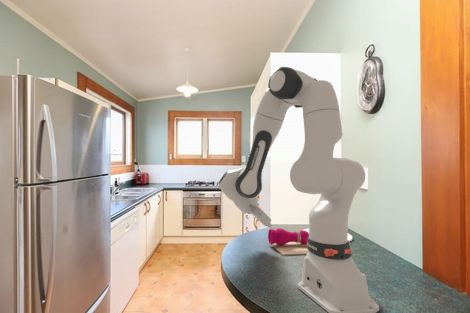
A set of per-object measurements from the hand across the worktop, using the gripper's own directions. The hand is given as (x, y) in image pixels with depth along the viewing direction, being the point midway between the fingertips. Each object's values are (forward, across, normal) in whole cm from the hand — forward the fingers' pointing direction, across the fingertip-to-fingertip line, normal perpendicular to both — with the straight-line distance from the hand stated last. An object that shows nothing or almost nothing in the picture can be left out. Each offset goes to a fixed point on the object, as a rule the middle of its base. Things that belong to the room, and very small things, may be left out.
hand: (270, 225), depth 110 cm
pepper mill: (+4, +3, +3) cm, 6 cm away
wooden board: (+16, 0, -2) cm, 16 cm away
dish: (+32, +16, -17) cm, 40 cm away
